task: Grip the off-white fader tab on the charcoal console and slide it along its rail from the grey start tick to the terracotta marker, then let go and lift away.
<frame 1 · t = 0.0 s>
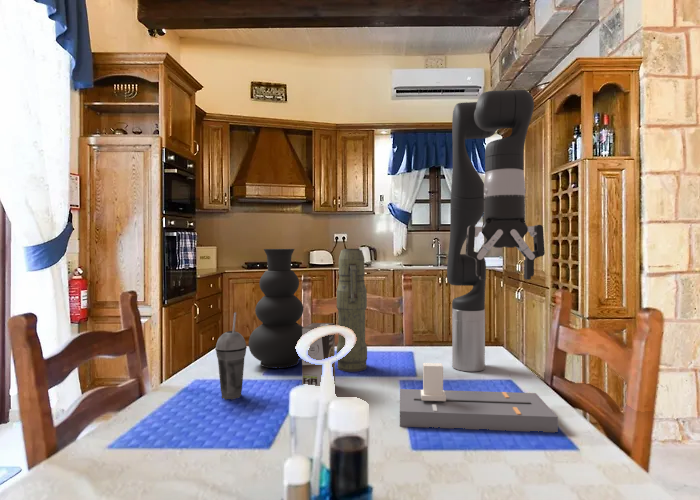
hand: (504, 279, 87), 29 cm above the table, tool pointing down, fingers open, 8 cm apart
dark grey printed box: (319, 390, 112), on the table
beverage cup: (231, 397, 108), on the table
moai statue: (351, 368, 133), on the table
fader tab: (432, 381, 95), point 7 cm above the table, slide at -8.0 cm
vase: (279, 365, 136), on the table
fader console: (471, 415, 95), on the table
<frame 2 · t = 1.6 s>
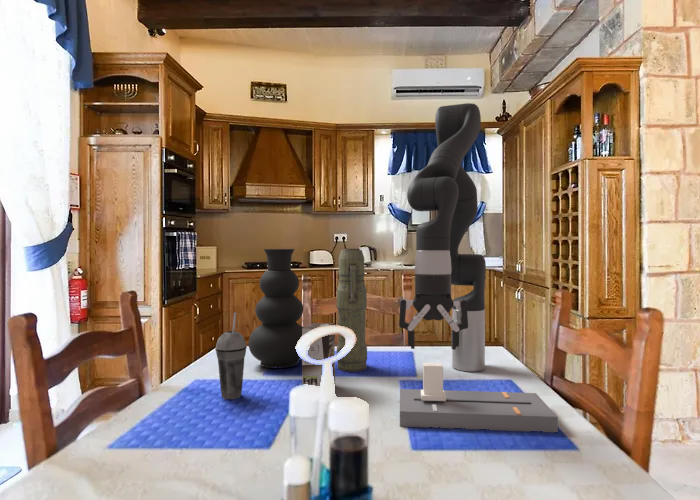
hand: (432, 348, 95), 14 cm above the table, tool pointing down, fingers open, 8 cm apart
nothing on the table moved.
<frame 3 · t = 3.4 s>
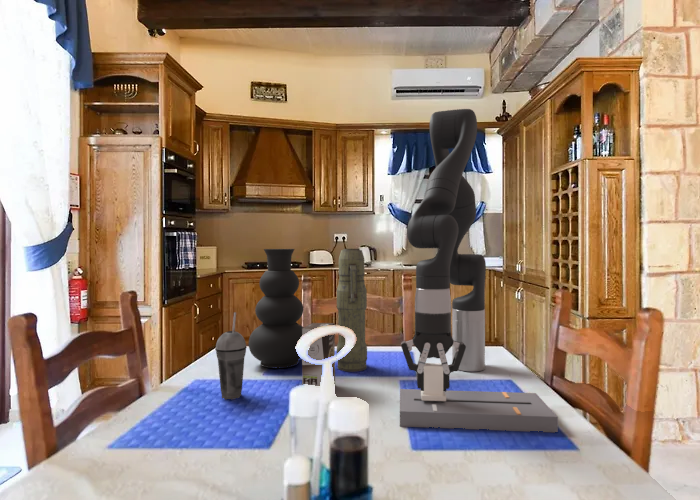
hand: (433, 389, 95), 5 cm above the table, tool pointing down, fingers closed on fader tab, 4 cm apart
fader tab: (433, 381, 95), point 7 cm above the table, slide at -8.0 cm, touching gripper
everything else where it was.
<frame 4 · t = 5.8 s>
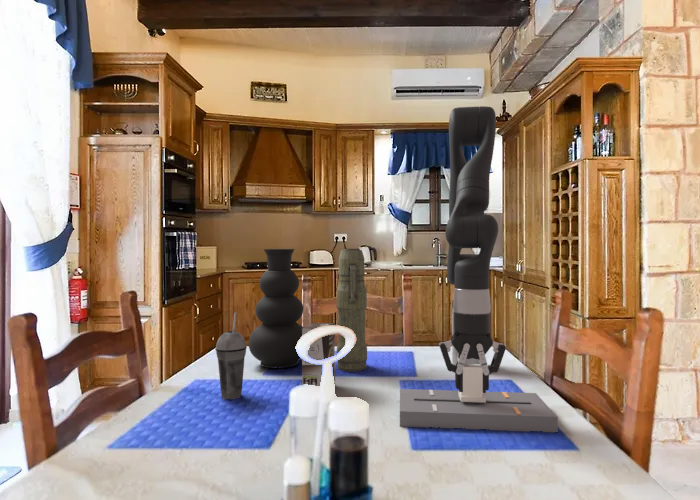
hand: (471, 391, 95), 5 cm above the table, tool pointing down, fingers closed on fader tab, 4 cm apart
fader tab: (471, 382, 95), point 7 cm above the table, slide at 0.1 cm, touching gripper
everything else where it was.
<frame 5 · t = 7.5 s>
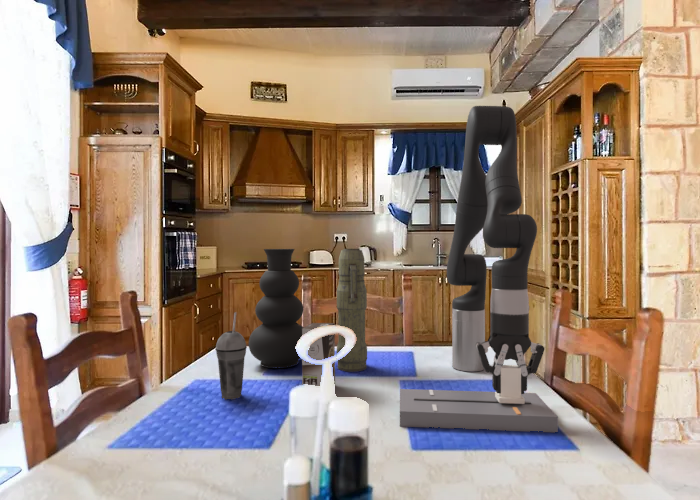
hand: (509, 392, 94), 5 cm above the table, tool pointing down, fingers closed on fader tab, 4 cm apart
fader tab: (509, 383, 94), point 7 cm above the table, slide at 7.7 cm, touching gripper
everything else where it was.
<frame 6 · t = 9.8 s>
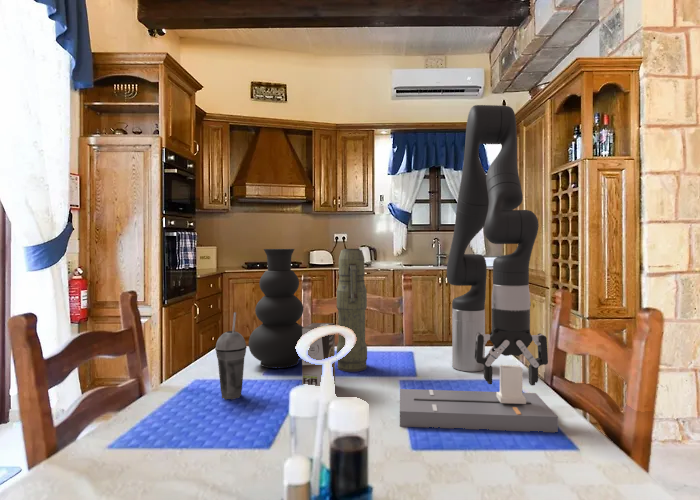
hand: (510, 383, 94), 7 cm above the table, tool pointing down, fingers open, 8 cm apart
fader tab: (510, 383, 94), point 7 cm above the table, slide at 8.0 cm
everything else where it was.
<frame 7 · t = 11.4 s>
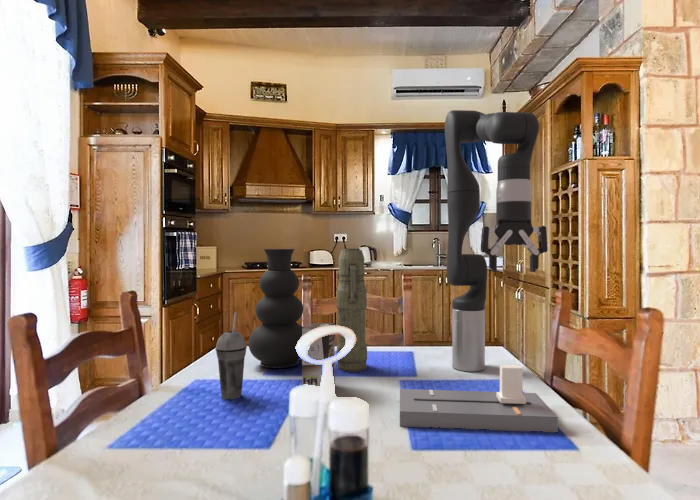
hand: (513, 271, 103), 30 cm above the table, tool pointing down, fingers open, 8 cm apart
nothing on the table moved.
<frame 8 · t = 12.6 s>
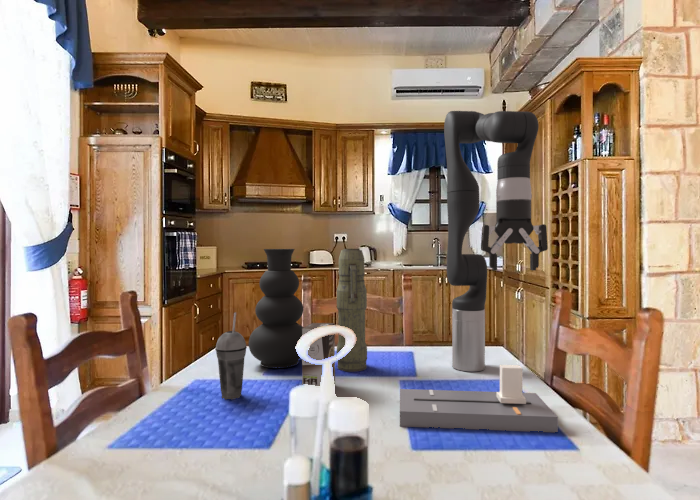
hand: (513, 270, 103), 30 cm above the table, tool pointing down, fingers open, 8 cm apart
nothing on the table moved.
at the end: fader tab slide at 8.0 cm; the gripper is holding nothing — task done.
